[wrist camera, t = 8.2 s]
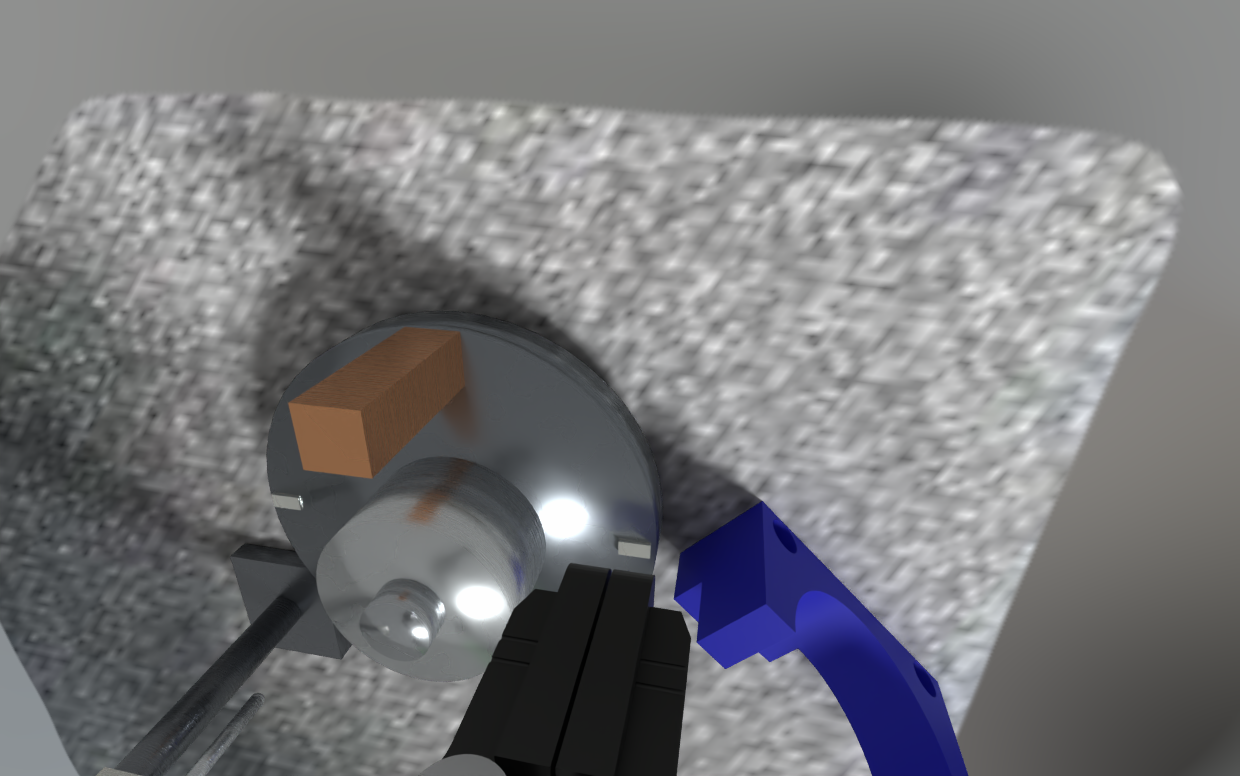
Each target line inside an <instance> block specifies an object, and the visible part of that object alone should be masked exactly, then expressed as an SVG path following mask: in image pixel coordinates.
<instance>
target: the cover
mask: <svg viewBox="0 0 1240 776" xmlns="http://www.w3.org/2000/svg"><path fill="white" fill-rule="evenodd" d="M545 555H546V540H545V534H544V530H543V527H542V524H541V521H540V519H539V517H538V515H537V513H536V511H535V510H534V508H533V506H532V505H531V503H530V502H529V501H528V499H527V498H526V497H525V496H524V495H523V494H522V493H521V492H520V490H519V489H518V488H517V487H515V486H514V485H513V484H512V483H511V482H509V481H508V480H507V479H506V478H504V477H503V476H501V475H500V474H498V473H497V472H495V471H493V470H491V469H489V468H487V467H485V466H483V465H480V464H478V463H475V462H472V461H468V460H465V459H460V458H454V457H428V458H423V459H419V460H416V461H413V462H411V463H408V464H407V465H405V466H403V467H401V468H400V469H399V470H397V471H396V472H395V473H394V474H393V475H392V476H391V477H390V478H389V479H388V480H387V481H386V482H385V483H384V484H383V485H382V486H381V487H380V488H379V489H378V491H377V492H376V493H375V494H374V495H373V496H372V497H371V498H370V499H369V500H368V501H367V502H366V503H365V504H364V505H363V506H362V507H361V508H360V509H359V510H358V511H357V513H356V514H355V515H354V516H353V517H352V518H351V519H350V520H349V521H348V522H347V523H346V524H345V525H344V526H343V527H342V528H341V529H340V530H339V531H338V532H337V534H336V535H335V536H334V537H333V538H332V539H331V540H330V541H329V542H328V543H327V545H326V546H325V547H324V549H323V551H322V553H321V555H320V558H319V560H318V564H317V571H316V582H317V588H318V593H319V596H320V599H321V602H322V604H323V606H324V609H325V611H326V613H327V614H328V616H329V618H330V619H331V621H332V622H333V624H334V625H335V626H336V628H337V629H338V630H339V631H340V633H341V634H342V635H343V636H344V637H345V638H346V639H347V640H348V641H349V642H350V643H351V644H352V645H354V646H355V647H356V648H357V649H358V650H359V651H361V652H362V653H363V654H365V655H366V656H368V657H369V658H371V659H372V660H374V661H376V662H377V663H379V664H381V665H383V666H385V667H387V668H389V669H391V670H393V671H396V672H398V673H400V674H403V675H407V676H410V677H413V678H418V679H422V680H428V681H436V682H451V681H460V680H465V679H470V678H472V677H475V676H478V675H480V674H482V673H484V672H485V670H486V668H487V666H488V664H489V662H491V659H492V655H493V653H494V651H495V648H496V646H497V644H498V642H499V640H501V638H502V633H503V631H504V629H505V627H506V624H507V622H508V620H509V618H510V616H511V614H512V611H513V609H514V608H515V607H516V606H517V605H518V604H519V603H521V602H522V601H523V600H524V599H525V598H526V597H527V596H528V595H529V594H530V593H531V592H532V590H533V587H534V585H535V583H536V581H537V578H538V576H539V574H540V572H541V569H542V566H543V564H544V560H545Z"/></svg>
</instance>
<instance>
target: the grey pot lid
mask: <svg viewBox="0 0 1240 776" xmlns="http://www.w3.org/2000/svg"><path fill="white" fill-rule="evenodd" d="M428 457H454V458H460V459H465V460H468V461H472V462H475V463H478V464H480V465H483V466H485V467H487V468H489V469H491V470H493V471H495V472H497V473H498V474H500V475H501V476H503V477H504V478H506V479H507V480H508V481H509V482H511V483H512V484H513V485H514V486H515V487H517V488H518V489H519V490H520V492H521V493H522V494H523V495H524V496H525V497H526V498H527V499H528V501H529V502H530V503H531V505H532V506H533V508H534V510H535V511H536V513H537V515H538V517H539V519H540V521H541V524H542V527H543V530H544V534H545V540H546V555H545V560H544V564H543V566H542V569H541V572H540V574H539V576H538V578H537V581H536V583H535V585H534V587H533V590H534V589H541V590H547V591H553V592H558V589H559V587H560V584H561V582H562V579H563V576H564V574H565V571H566V569H567V567H568V565H569V564H570V563H576V564H583V565H589V566H596V567H602V568H609V569H611V570H612V571H613V570H614V569H617V570H624V571H630V572H637V573H643V574H650V575H652V574H653V570H654V565H655V560H656V555H657V550H658V545H659V540H660V534H661V526H662V519H663V504H662V491H661V485H660V479H659V474H658V470H657V467H656V464H655V461H654V458H653V455H652V452H651V449H650V447H649V445H648V443H647V441H646V439H645V437H644V435H643V433H642V431H641V429H640V427H639V425H638V424H637V422H636V421H635V419H634V418H633V416H632V415H631V413H630V412H629V410H628V409H627V407H626V406H625V404H624V403H623V402H622V401H621V399H620V398H619V397H618V396H617V395H616V394H615V392H614V391H613V390H612V389H611V388H610V387H609V385H608V384H607V383H606V382H605V381H603V380H602V379H601V378H600V377H599V376H598V375H597V374H596V373H595V372H594V371H593V370H592V369H590V368H589V367H588V366H587V365H586V364H585V363H583V362H582V361H580V360H579V359H578V358H576V357H575V356H574V355H572V354H571V353H569V352H568V351H567V350H565V349H564V348H562V347H561V346H559V345H557V344H555V343H553V342H552V341H550V340H548V339H546V338H544V337H543V336H541V335H539V334H537V333H535V332H532V331H530V330H527V329H525V328H522V327H520V326H518V325H515V324H513V323H510V322H506V321H503V320H499V319H495V318H492V317H488V316H485V315H478V314H471V313H465V312H458V311H427V312H419V313H411V314H404V315H401V316H397V317H394V318H390V319H387V320H383V321H381V322H378V323H376V324H374V325H372V326H370V327H367V328H365V329H363V330H361V331H359V332H358V333H356V334H354V335H353V336H351V337H349V338H347V339H346V340H344V341H342V342H341V343H339V344H337V345H336V346H334V347H332V348H330V349H329V350H327V351H326V352H325V353H323V354H322V355H320V356H319V357H317V358H316V359H314V360H313V361H311V362H310V363H309V364H308V365H307V366H306V367H305V368H304V369H303V370H302V371H301V372H300V373H299V374H298V375H297V376H296V377H295V378H294V380H293V381H292V383H291V384H290V385H289V387H288V388H287V390H286V391H285V392H284V394H283V396H282V398H281V400H280V402H279V404H278V406H277V409H276V411H275V413H274V416H273V420H272V423H271V427H270V431H269V436H268V446H267V473H268V480H269V486H270V491H271V496H272V500H273V503H274V507H275V509H276V512H277V515H278V518H279V520H280V522H281V524H282V527H283V529H284V531H285V533H286V535H287V537H288V539H289V541H290V543H291V544H292V546H293V548H294V549H295V551H296V553H297V554H298V556H299V558H300V559H301V560H302V562H303V563H304V564H305V566H306V567H307V568H308V570H309V571H310V572H311V574H312V575H313V576H314V577H315V579H316V571H317V564H318V560H319V558H320V555H321V553H322V551H323V549H324V547H325V546H326V545H327V543H328V542H329V541H330V540H331V539H332V538H333V537H334V536H335V535H336V534H337V532H338V531H339V530H340V529H341V528H342V527H343V526H344V525H345V524H346V523H347V522H348V521H349V520H350V519H351V518H352V517H353V516H354V515H355V514H356V513H357V511H358V510H359V509H360V508H361V507H362V506H363V505H364V504H365V503H366V502H367V501H368V500H369V499H370V498H371V497H372V496H373V495H374V494H375V493H376V492H377V491H378V489H379V488H380V487H381V486H382V485H383V484H384V483H385V482H386V481H387V480H388V479H389V478H390V477H391V476H392V475H393V474H394V473H395V472H396V471H397V470H399V469H400V468H401V467H403V466H405V465H407V464H408V463H411V462H413V461H416V460H419V459H423V458H428ZM533 590H532V591H533Z"/></svg>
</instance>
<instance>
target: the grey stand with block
mask: <svg viewBox="0 0 1240 776" xmlns="http://www.w3.org/2000/svg"><path fill="white" fill-rule="evenodd" d="M230 558H231V561H232V564H233V567H234V571H235V574H236V577H237V580H238V584H239V587H240V590H241V594H242V597H243V600H244V603H245V607H246V610H247V613H248V617H249V620H250V623H251V625H250V626H249V627H248V628H247V629H246V630H245V631H244V633H243V634H242V635H241V636H240V637H239V638H238V639H237V640H236V641H235V642H234V643H233V644H232V645H231V646H230V647H229V648H228V649H227V650H226V651H225V653H224V654H223V655H222V656H221V657H220V658H219V659H218V660H217V661H216V662H215V663H214V664H213V665H212V666H211V667H210V668H209V669H208V670H207V671H206V673H205V674H204V675H203V676H202V677H201V678H200V679H199V680H198V681H197V682H196V683H195V684H194V685H193V686H192V687H191V688H190V689H189V690H188V691H187V693H186V694H185V695H184V696H183V697H182V698H181V699H180V700H179V701H178V702H177V703H176V704H175V705H174V706H173V707H172V708H171V709H170V710H169V711H168V713H167V714H166V715H165V716H164V717H163V718H162V719H161V720H160V721H159V722H158V723H157V724H156V725H155V726H154V727H153V728H152V729H151V730H150V731H149V733H148V734H147V735H146V736H145V737H144V738H143V739H142V740H141V741H140V742H139V743H138V744H137V745H136V746H135V747H134V748H133V749H132V750H131V751H130V753H129V754H128V755H127V756H126V757H125V758H124V759H123V760H122V761H121V762H120V763H119V764H118V765H117V766H116V767H115V768H114V769H111V768H106V767H104V768H103V769H102V770H101V771H100V772H99V773H98V774H97V775H96V776H164V775H165V774H166V773H167V772H168V770H169V769H170V768H171V767H172V766H173V765H174V764H175V762H176V761H177V760H178V759H179V758H180V757H181V755H182V754H183V753H184V752H185V751H186V750H187V748H188V747H189V746H190V745H191V744H192V743H193V742H194V740H195V739H196V738H197V737H198V736H199V735H200V733H201V732H202V731H203V730H204V729H205V728H206V727H207V725H208V724H209V723H210V722H211V721H212V720H213V718H214V717H215V716H216V715H217V714H218V713H219V712H220V710H221V709H222V708H223V707H224V706H225V705H226V703H227V702H228V701H229V700H230V699H231V698H232V697H233V695H234V694H235V693H236V692H237V691H238V690H239V688H240V687H241V686H242V685H243V684H244V683H245V682H246V680H247V679H248V678H249V677H250V676H251V675H252V673H253V672H254V671H255V670H256V669H257V668H258V667H259V665H260V664H261V663H262V662H263V661H264V660H265V658H266V657H267V656H268V655H269V654H270V653H271V652H272V650H273V649H274V648H281V649H286V650H292V651H297V652H303V653H308V654H314V655H319V656H325V657H330V658H336V659H342V658H343V656H344V655H345V654H346V652H347V651H348V650H349V648H350V647H351V645H352V644H351V643H350V642H349V641H348V640H347V639H346V638H345V637H344V636H343V635H342V634H341V633H340V631H339V630H338V629H337V628H336V626H335V625H334V624H333V622H332V621H331V619H330V618H329V616H328V614H327V613H326V611H325V609H324V606H323V604H322V602H321V599H320V596H319V593H318V588H317V582H316V579H315V577H314V576H313V575H312V574H311V572H310V571H309V570H308V568H307V567H306V566H305V564H304V563H303V562H302V560H301V559H300V558H299V556H298V554H297V553H296V552H295V551H289V550H282V549H276V548H269V547H263V546H256V545H250V544H244V545H243V546H241V547H240V548H239V549H238V550H237V551H236V552H235V553H233V554H232V555H231V556H230ZM264 700H265V698H264V695H263V694H261V693H256V694H254V695H252V696H251V697H250V699H249V700H248V701H247V702H246V703H245V705H244V706H243V707H242V708H241V709H240V710H239V712H238V713H237V714H236V715H235V716H234V718H233V719H232V720H231V721H230V722H229V724H228V725H227V726H226V727H225V728H224V730H223V731H222V732H221V733H220V734H219V736H218V737H217V738H216V739H215V740H214V742H213V743H212V744H211V745H210V746H209V748H208V749H207V750H206V751H205V752H204V754H203V755H202V756H201V757H200V758H199V760H198V761H197V762H196V763H195V764H194V766H193V767H192V768H191V769H190V770H189V772H188V773H187V774H186V775H185V776H205V775H206V774H207V773H208V772H209V770H210V769H211V768H212V767H213V765H214V764H215V763H216V762H217V760H218V759H219V758H220V757H221V755H222V754H223V753H224V752H225V751H226V749H227V748H228V747H229V746H230V744H231V743H232V742H233V741H234V739H235V738H236V737H237V736H238V734H239V733H240V732H241V731H242V729H243V728H244V727H245V726H246V724H247V723H248V722H249V721H250V719H251V718H252V717H253V716H254V714H255V713H256V712H257V711H258V710H259V708H260V707H261V706H262V705H263V703H264Z"/></svg>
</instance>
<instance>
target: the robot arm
mask: <svg viewBox="0 0 1240 776" xmlns="http://www.w3.org/2000/svg"><path fill="white" fill-rule="evenodd" d="M654 591H655V575H650V574H643V573H637V572H630V571H624V570H617V569H614V570H613V571H612V570H611V569H609V568H602V567H596V566H589V565H583V564H576V563H570V564H569V565H568V567H567V569H566V571H565V574H564V576H563V579H562V582H561V584H560V587H559V589H558V592H553V591H547V590H541V589H534V590H533V591H532V592H531V593H530V594H529V595H528V596H527V597H526V598H525V599H524V600H523V601H522V602H521V603H519V604H518V605H517V606H516V607H515V608H514V609H513V611H512V614H511V616H510V618H509V620H508V622H507V624H506V627H505V629H504V631H503V633H502V638H501V640H499V642H498V644H497V646H496V648H495V651H494V653H493V655H492V659H491V662H489V664H488V666H487V668H486V670H485V672H484V674H483V677H482V679H481V681H480V683H479V685H478V687H477V690H476V692H475V694H474V696H473V698H472V700H471V703H470V705H469V707H468V709H467V711H466V714H465V716H464V718H463V720H462V722H461V724H460V727H459V729H458V731H457V733H456V735H455V737H454V740H453V742H452V744H451V746H450V748H449V749H448V751H447V753H446V755H445V756H444V757H443V759H442V760H440V761H438V762H436V763H434V764H433V765H431V766H430V767H428V768H427V769H426V770H424V771H423V772H422V773H421V774H420V775H419V776H677V767H678V758H679V748H680V739H681V730H682V720H683V711H684V701H685V692H686V682H687V672H688V663H689V653H690V643H691V637H690V634H689V631H688V629H687V626H686V623H685V621H684V618H683V615H682V613H681V612H680V611H674V610H668V609H661V608H655V607H653V606H654Z"/></svg>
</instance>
